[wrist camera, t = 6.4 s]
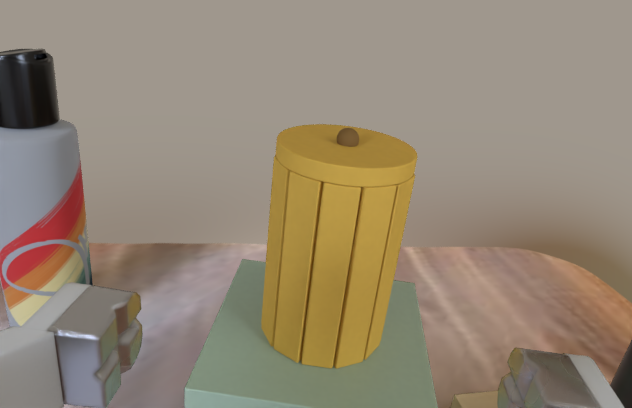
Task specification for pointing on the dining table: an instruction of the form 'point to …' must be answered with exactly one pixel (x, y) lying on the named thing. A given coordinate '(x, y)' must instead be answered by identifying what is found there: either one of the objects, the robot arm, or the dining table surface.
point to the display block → (304, 380)
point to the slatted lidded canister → (334, 241)
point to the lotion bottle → (38, 188)
